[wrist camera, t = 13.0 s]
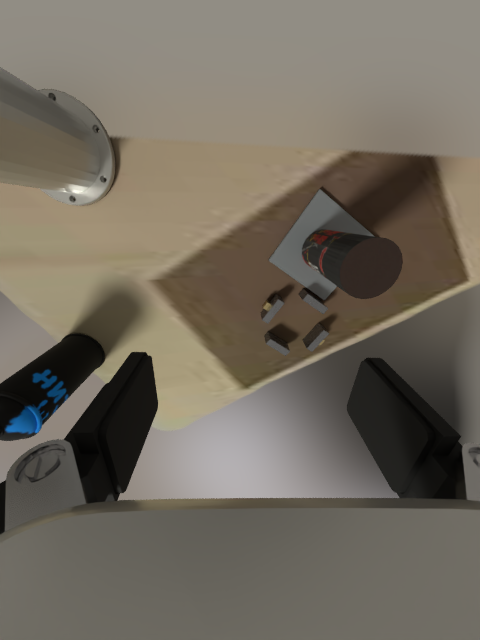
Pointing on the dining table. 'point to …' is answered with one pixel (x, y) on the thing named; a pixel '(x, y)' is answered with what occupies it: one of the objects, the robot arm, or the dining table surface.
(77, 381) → the aerosol can
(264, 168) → the dining table surface
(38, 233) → the dining table surface
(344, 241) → the deodorant
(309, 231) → the coaster
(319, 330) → the collar
